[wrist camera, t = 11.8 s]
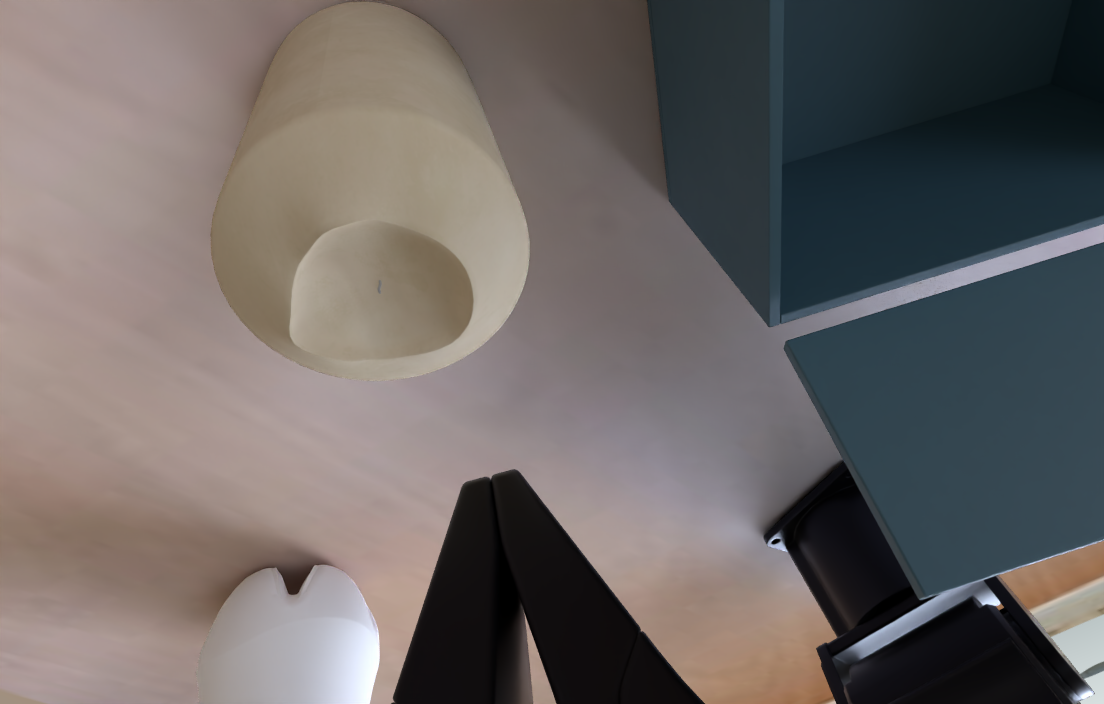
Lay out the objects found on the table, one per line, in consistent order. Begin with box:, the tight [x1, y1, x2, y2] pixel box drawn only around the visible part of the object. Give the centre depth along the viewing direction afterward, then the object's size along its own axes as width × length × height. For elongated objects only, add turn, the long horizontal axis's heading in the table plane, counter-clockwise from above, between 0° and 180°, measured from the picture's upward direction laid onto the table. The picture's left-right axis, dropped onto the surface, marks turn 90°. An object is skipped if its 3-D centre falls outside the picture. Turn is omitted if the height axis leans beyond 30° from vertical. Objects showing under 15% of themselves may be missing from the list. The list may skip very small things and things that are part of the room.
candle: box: [211, 1, 530, 381], centre depth 15 cm, size 6×6×10 cm
